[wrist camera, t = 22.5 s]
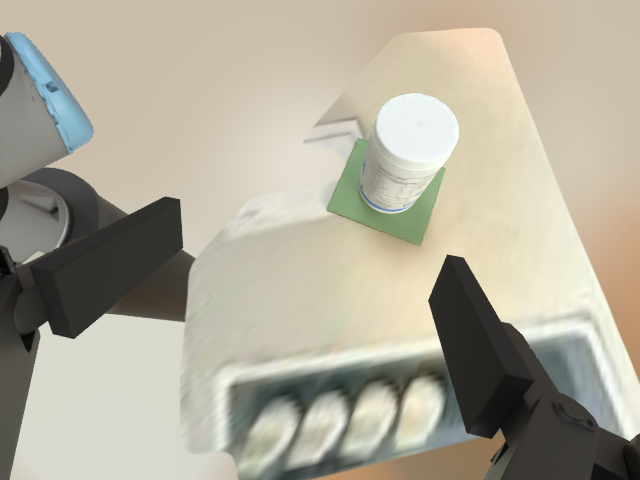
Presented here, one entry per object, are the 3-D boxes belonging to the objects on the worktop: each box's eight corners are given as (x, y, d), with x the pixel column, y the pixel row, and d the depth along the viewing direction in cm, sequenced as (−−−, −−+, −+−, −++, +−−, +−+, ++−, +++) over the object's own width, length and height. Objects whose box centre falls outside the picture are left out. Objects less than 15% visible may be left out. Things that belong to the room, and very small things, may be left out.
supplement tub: (365, 155, 48) (385, 81, 34) (423, 170, 48) (467, 100, 34) (350, 207, 45) (365, 149, 31) (411, 224, 45) (454, 172, 31)
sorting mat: (326, 209, 46) (326, 208, 45) (358, 139, 50) (358, 137, 49) (419, 245, 44) (420, 244, 44) (444, 169, 48) (445, 168, 48)
